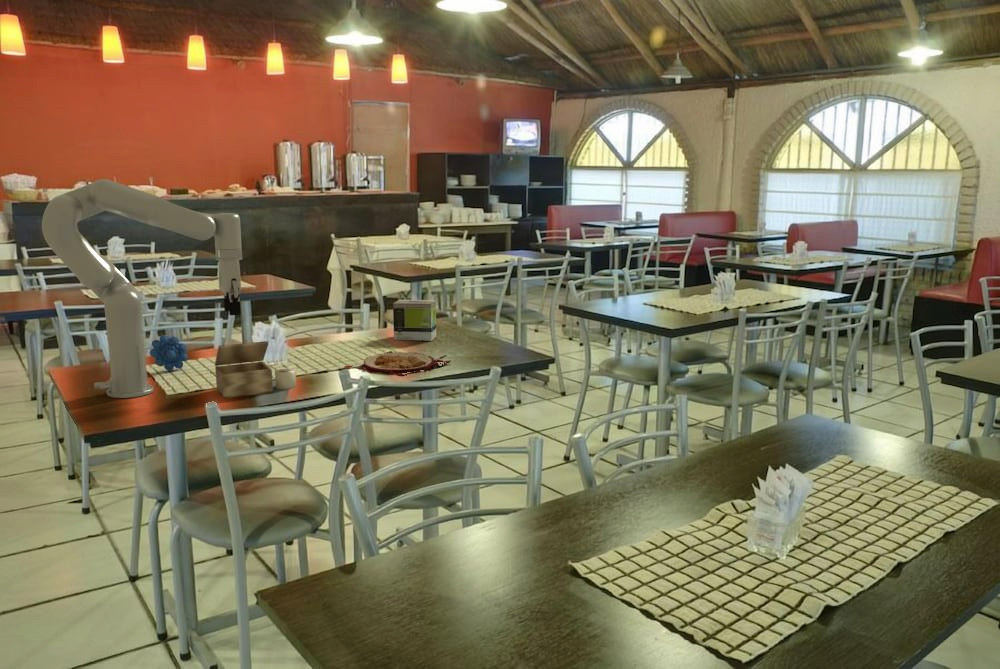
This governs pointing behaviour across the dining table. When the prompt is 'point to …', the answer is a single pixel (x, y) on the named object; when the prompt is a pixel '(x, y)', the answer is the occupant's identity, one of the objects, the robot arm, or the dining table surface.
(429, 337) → the tea box
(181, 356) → the blue flower
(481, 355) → the dining table surface
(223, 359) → the lid
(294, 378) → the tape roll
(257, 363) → the carton
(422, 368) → the plate with food
